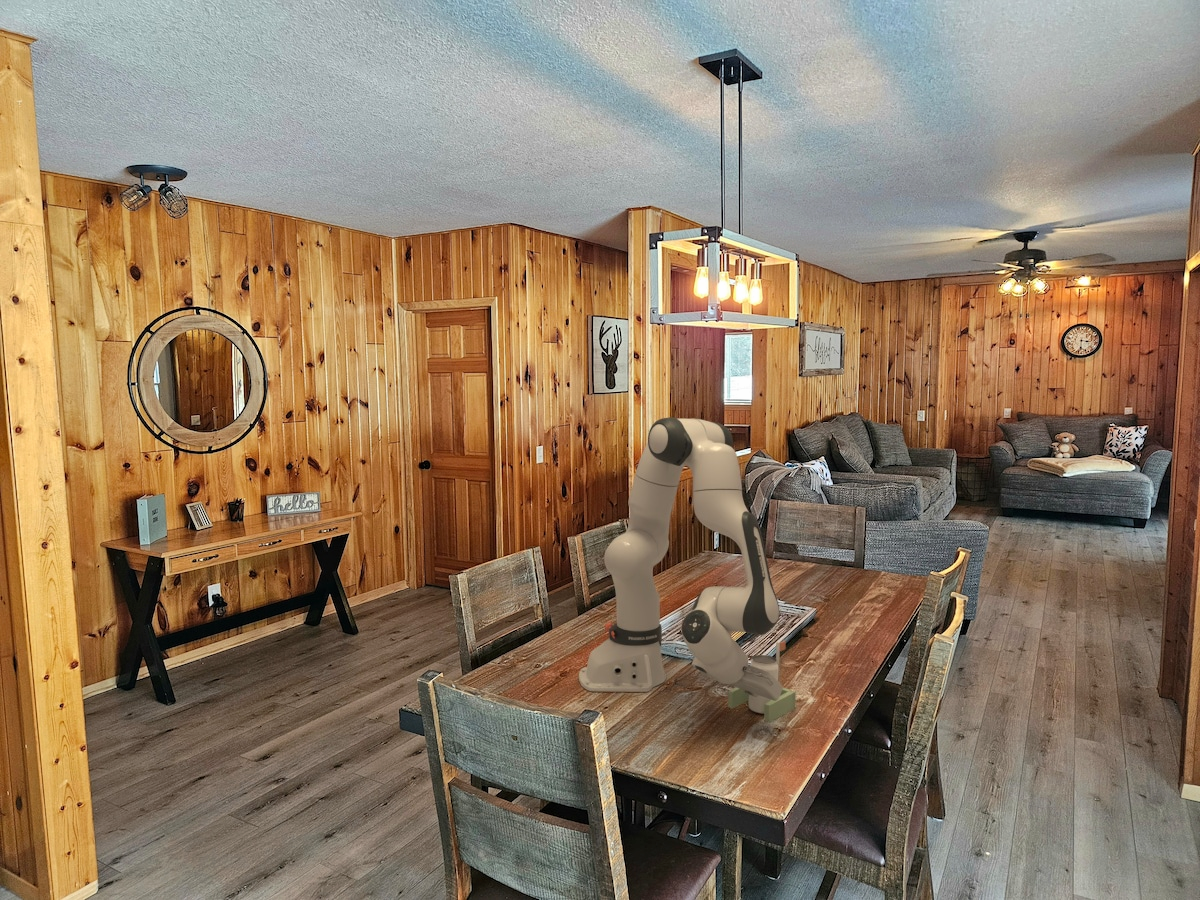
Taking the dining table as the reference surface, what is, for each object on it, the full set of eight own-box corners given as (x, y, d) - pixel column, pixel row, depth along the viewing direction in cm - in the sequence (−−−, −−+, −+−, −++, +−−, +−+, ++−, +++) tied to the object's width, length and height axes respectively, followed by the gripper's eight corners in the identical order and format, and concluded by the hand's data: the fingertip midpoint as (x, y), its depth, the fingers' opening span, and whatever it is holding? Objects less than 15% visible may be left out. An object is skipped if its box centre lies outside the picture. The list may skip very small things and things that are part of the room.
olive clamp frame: (768, 722, 176) (769, 662, 174) (728, 707, 184) (728, 649, 183) (804, 702, 186) (805, 646, 184) (764, 688, 194) (765, 634, 193)
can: (778, 706, 184) (780, 656, 183) (774, 716, 178) (776, 665, 177) (751, 701, 187) (753, 652, 186) (745, 711, 181) (747, 661, 180)
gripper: (772, 662, 167) (797, 693, 174) (698, 639, 181) (723, 668, 189) (760, 688, 164) (785, 719, 172) (685, 662, 179) (712, 691, 186)
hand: (752, 692), depth 181 cm, fingers closed, pressing on can
